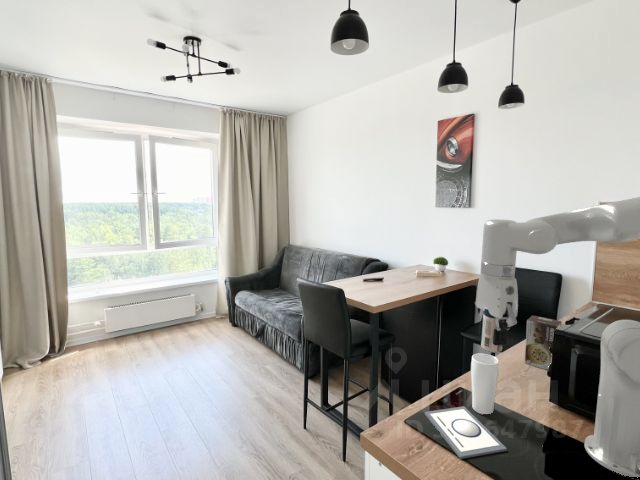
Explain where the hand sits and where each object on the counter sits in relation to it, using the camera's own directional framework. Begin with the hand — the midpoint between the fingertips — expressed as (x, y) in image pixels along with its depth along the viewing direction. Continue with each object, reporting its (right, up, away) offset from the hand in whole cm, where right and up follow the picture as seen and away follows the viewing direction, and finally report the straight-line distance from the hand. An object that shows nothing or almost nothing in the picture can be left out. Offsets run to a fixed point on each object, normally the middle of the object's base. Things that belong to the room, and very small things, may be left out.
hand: (492, 339), depth 87 cm
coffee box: (+33, -18, +32) cm, 50 cm away
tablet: (-8, -23, -1) cm, 24 cm away
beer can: (0, -3, 0) cm, 3 cm away
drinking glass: (+1, -22, +8) cm, 23 cm away
